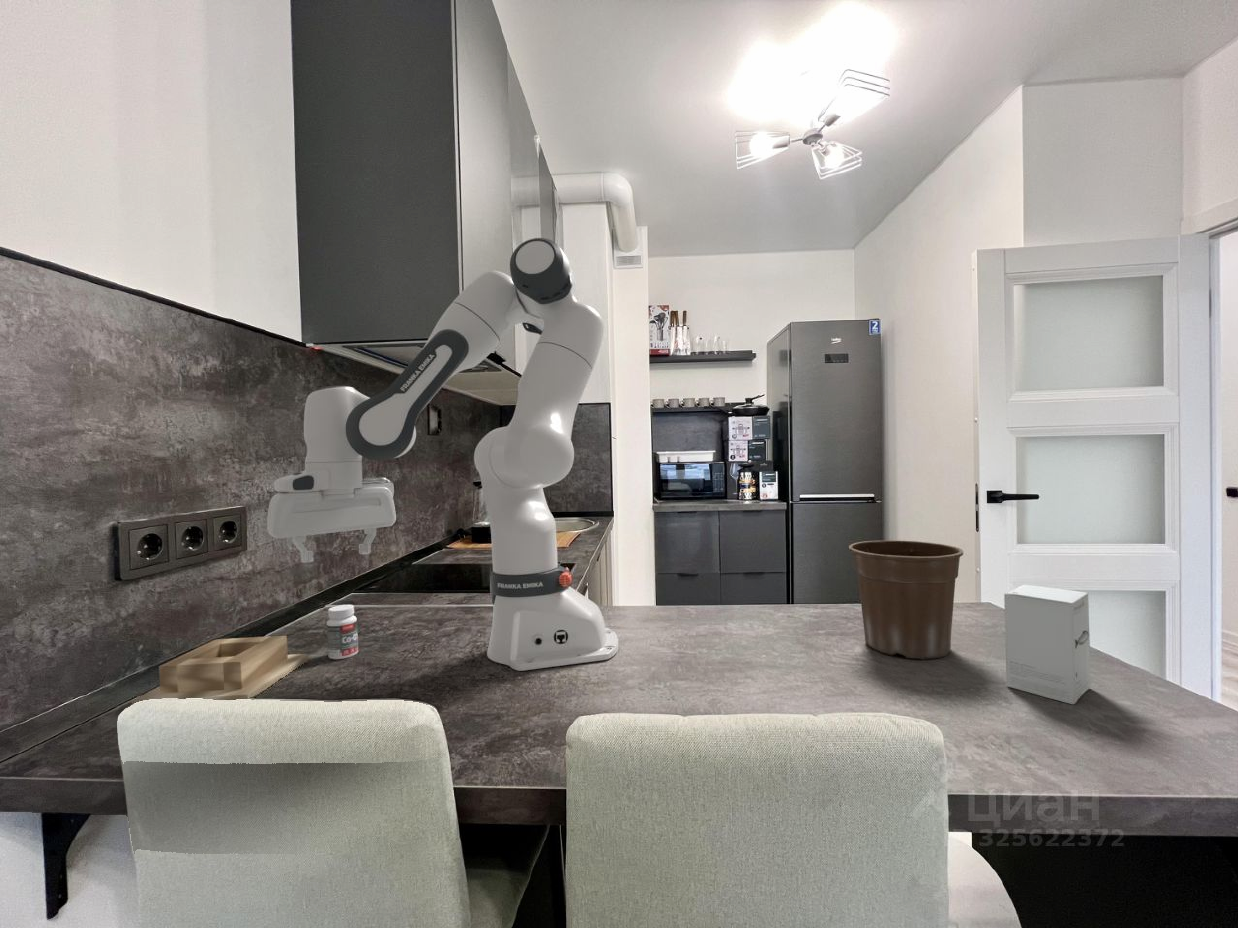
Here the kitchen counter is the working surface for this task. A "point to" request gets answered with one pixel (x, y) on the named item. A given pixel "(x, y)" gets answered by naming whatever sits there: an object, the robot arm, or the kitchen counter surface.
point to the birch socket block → (226, 669)
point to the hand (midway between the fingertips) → (337, 557)
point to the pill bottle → (342, 632)
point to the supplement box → (1047, 642)
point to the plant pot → (907, 595)
